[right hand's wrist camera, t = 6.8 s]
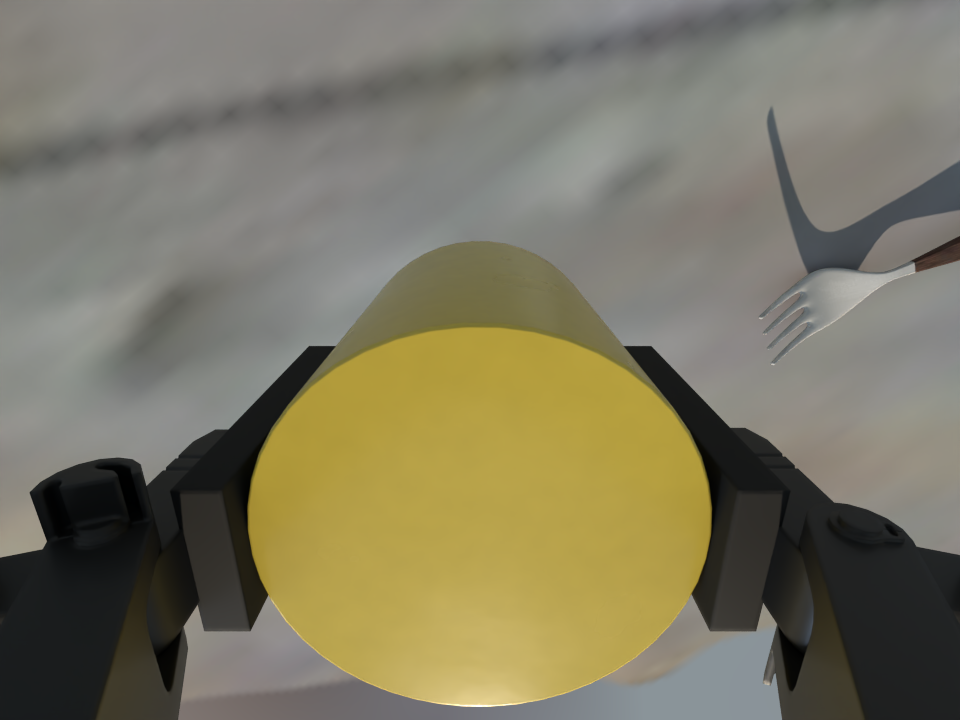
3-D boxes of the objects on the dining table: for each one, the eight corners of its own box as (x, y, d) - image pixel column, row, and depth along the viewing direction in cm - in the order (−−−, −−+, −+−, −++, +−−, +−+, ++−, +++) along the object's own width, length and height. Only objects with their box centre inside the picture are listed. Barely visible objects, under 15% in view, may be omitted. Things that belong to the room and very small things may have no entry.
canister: (545, 487, 18) (598, 746, 10) (337, 424, 17) (210, 651, 9) (637, 289, 16) (805, 417, 8) (399, 204, 15) (301, 247, 7)
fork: (1140, 204, 21) (1205, 207, 19) (749, 353, 23) (773, 370, 21) (1140, 139, 20) (1208, 136, 18) (734, 301, 22) (758, 313, 20)
